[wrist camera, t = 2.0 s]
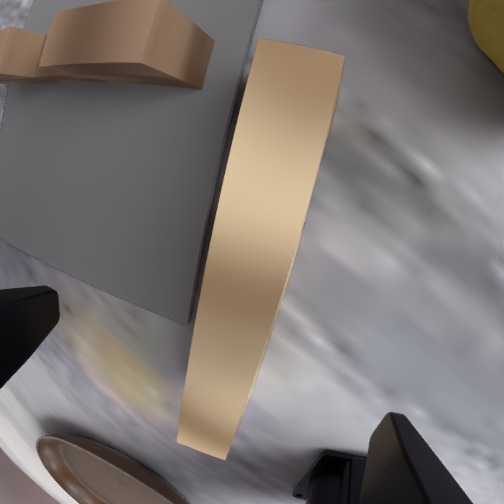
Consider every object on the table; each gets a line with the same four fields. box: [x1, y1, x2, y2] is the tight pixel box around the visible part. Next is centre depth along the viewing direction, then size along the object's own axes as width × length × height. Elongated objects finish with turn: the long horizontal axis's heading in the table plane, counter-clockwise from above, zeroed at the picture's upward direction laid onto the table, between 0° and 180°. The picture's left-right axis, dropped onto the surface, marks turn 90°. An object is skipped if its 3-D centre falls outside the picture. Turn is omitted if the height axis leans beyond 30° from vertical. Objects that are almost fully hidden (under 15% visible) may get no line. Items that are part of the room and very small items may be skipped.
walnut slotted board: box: [0, 0, 215, 90], centre depth 11 cm, size 14×2×5 cm, turn 76°
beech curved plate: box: [177, 38, 345, 460], centre depth 12 cm, size 16×2×5 cm, turn 166°
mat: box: [0, 0, 263, 326], centre depth 14 cm, size 19×17×1 cm
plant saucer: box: [36, 434, 190, 504], centre depth 24 cm, size 21×21×3 cm
